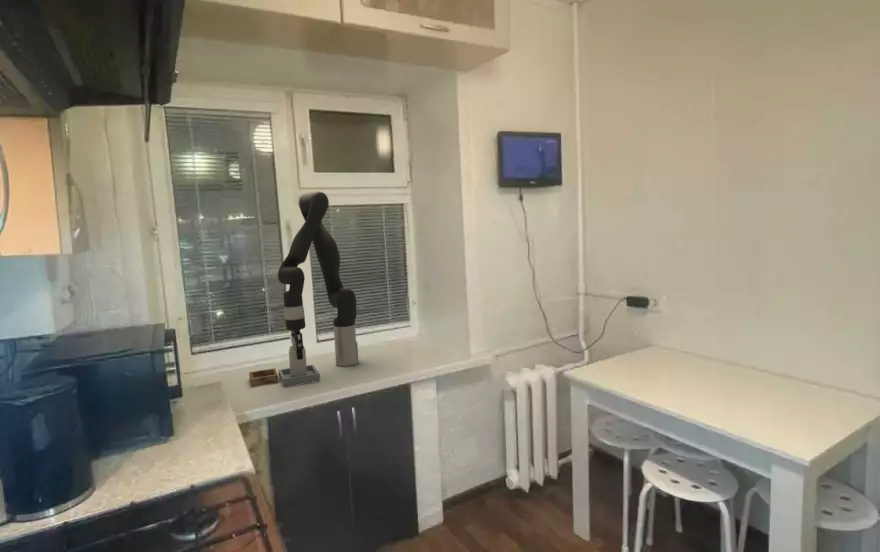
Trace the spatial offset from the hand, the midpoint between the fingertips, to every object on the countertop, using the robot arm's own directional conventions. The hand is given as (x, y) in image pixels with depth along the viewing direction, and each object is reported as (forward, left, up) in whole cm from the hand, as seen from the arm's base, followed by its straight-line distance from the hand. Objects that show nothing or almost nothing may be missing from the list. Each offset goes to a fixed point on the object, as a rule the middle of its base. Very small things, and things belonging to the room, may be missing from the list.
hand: (298, 356), depth 204 cm
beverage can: (0, -1, -8) cm, 8 cm away
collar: (+13, -5, -9) cm, 17 cm away
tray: (0, 0, -9) cm, 9 cm away
